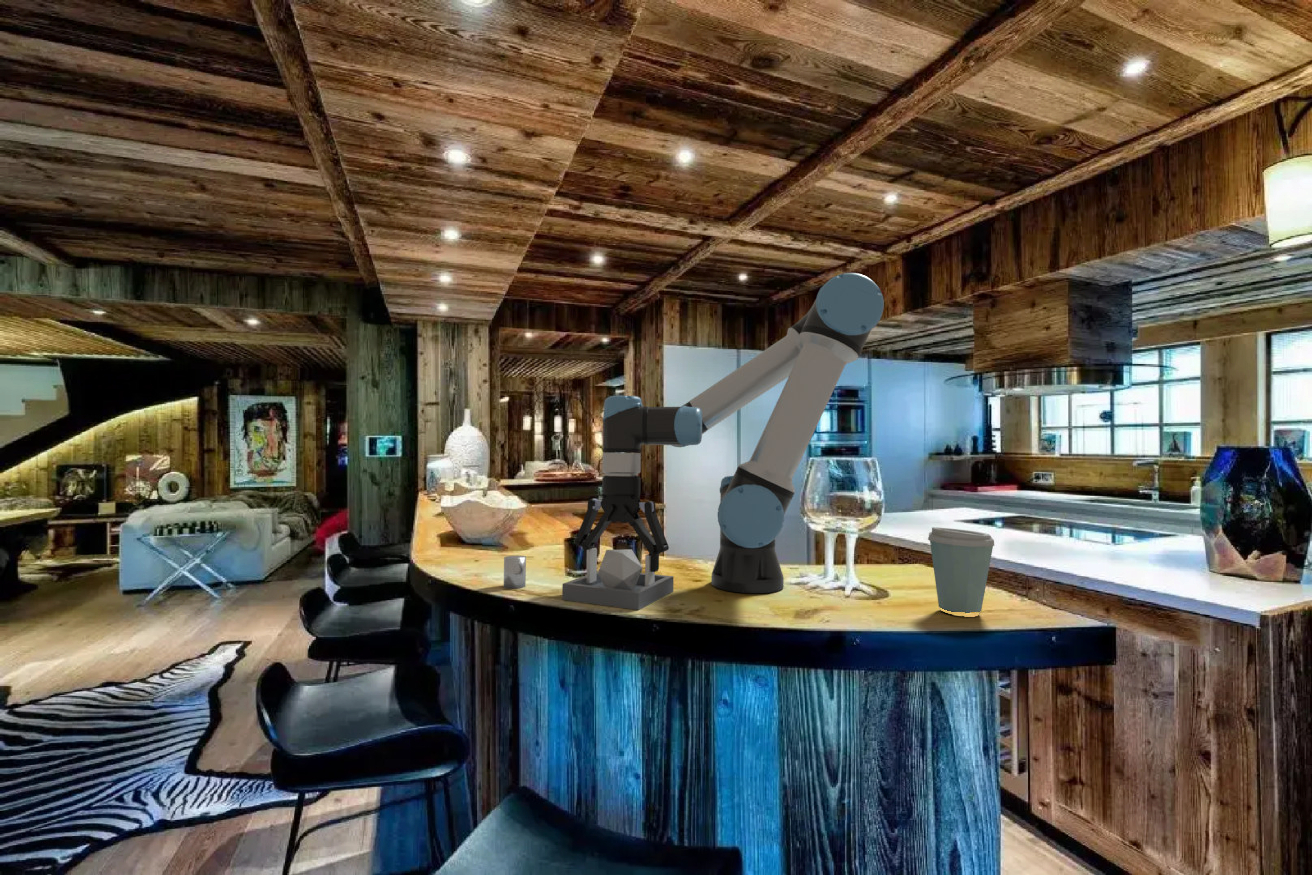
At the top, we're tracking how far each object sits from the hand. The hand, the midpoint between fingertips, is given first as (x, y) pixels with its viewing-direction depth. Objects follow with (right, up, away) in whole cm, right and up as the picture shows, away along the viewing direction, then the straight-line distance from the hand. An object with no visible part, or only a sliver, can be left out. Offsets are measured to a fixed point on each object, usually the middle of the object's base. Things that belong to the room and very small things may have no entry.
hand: (619, 585), depth 112 cm
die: (0, -1, 0) cm, 1 cm away
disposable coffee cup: (+61, -3, -10) cm, 62 cm away
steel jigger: (-22, -2, +7) cm, 23 cm away
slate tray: (0, -2, 0) cm, 2 cm away
